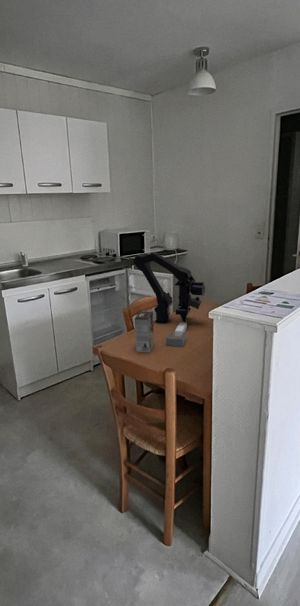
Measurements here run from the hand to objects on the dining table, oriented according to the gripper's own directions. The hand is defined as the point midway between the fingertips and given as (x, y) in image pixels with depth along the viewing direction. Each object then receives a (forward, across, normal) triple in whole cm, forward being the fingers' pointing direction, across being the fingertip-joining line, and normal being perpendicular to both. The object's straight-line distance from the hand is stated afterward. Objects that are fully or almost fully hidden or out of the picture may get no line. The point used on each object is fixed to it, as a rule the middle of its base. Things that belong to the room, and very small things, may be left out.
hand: (184, 322), depth 189 cm
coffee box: (+1, -33, +12) cm, 35 cm away
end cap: (+1, -24, 0) cm, 24 cm away
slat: (+1, -11, 0) cm, 11 cm away
